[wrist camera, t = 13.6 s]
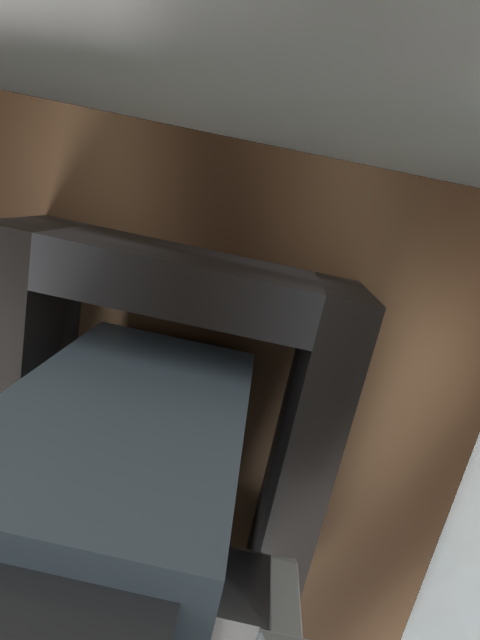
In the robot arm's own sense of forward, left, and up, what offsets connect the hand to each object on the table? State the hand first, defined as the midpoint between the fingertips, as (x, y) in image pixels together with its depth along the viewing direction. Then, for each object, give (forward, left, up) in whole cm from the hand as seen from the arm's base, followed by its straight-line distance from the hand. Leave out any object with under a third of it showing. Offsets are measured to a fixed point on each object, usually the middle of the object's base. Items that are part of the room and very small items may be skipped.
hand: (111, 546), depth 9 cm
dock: (0, 0, -6) cm, 6 cm away
